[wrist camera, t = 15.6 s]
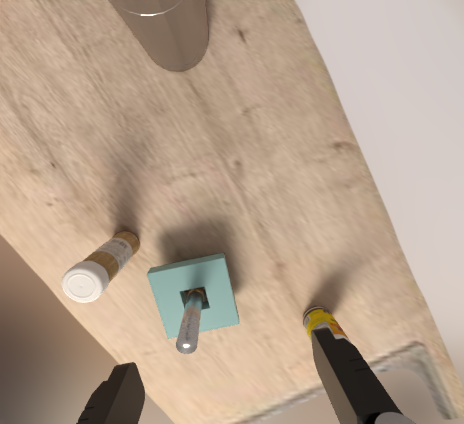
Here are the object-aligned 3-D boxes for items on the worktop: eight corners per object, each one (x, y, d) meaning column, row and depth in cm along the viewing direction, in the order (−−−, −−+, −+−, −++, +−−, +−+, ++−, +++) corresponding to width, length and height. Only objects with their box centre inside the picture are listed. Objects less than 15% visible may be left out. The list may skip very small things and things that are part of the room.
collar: (150, 267, 38) (146, 274, 36) (224, 252, 38) (224, 257, 36) (170, 330, 41) (167, 338, 39) (238, 316, 41) (239, 324, 39)
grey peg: (177, 272, 41) (155, 329, 28) (210, 265, 41) (205, 319, 28) (185, 301, 43) (168, 370, 29) (218, 294, 43) (216, 360, 29)
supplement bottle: (334, 322, 45) (366, 370, 35) (308, 334, 46) (332, 384, 36) (324, 300, 44) (354, 342, 34) (297, 312, 44) (318, 358, 34)
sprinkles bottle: (107, 243, 40) (51, 286, 27) (125, 224, 39) (77, 259, 26) (128, 261, 41) (84, 311, 27) (146, 243, 40) (110, 286, 27)
